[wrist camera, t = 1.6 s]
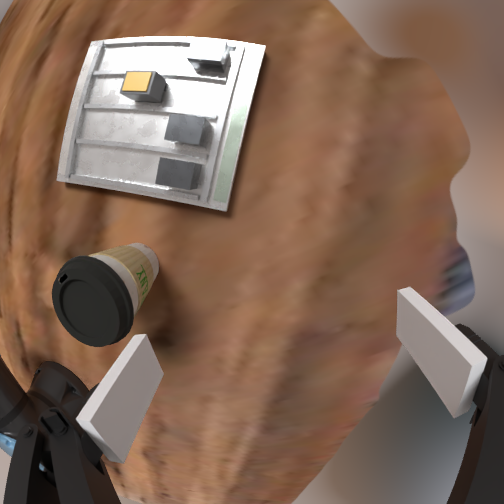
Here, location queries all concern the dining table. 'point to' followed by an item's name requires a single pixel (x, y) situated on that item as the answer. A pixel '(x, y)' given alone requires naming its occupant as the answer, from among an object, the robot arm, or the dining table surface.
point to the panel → (162, 118)
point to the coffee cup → (104, 292)
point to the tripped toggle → (143, 85)
